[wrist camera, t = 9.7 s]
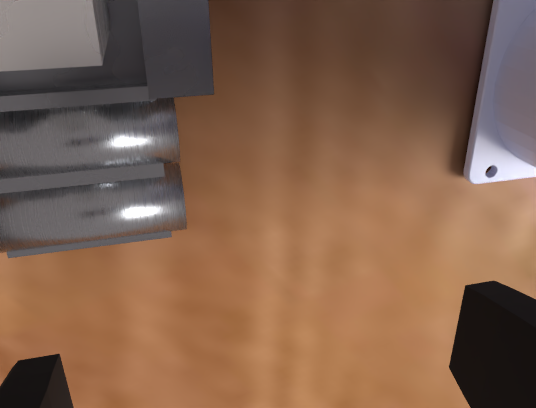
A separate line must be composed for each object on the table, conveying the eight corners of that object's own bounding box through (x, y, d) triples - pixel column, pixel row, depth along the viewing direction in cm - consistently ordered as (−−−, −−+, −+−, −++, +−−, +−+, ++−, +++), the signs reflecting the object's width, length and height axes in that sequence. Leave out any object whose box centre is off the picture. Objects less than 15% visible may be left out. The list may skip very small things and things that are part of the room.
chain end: (184, -159, 14) (197, -183, 11) (210, 209, 19) (223, 253, 16) (-162, -169, 12) (-242, -199, 9) (-31, 238, 17) (-60, 292, 14)
